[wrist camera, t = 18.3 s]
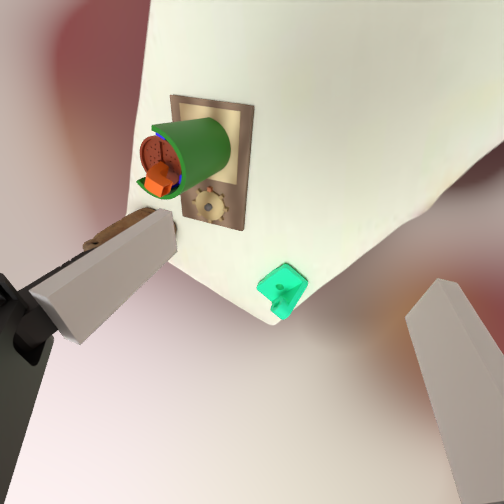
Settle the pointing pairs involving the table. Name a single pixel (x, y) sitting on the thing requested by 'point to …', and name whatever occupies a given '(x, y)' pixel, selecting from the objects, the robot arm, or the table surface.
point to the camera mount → (283, 289)
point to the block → (118, 228)
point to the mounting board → (232, 175)
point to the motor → (182, 156)
